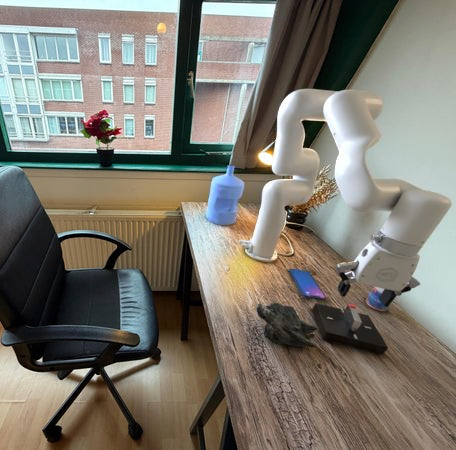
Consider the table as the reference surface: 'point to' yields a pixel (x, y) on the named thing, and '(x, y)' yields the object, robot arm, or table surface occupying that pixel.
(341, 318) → the plate
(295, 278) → the smartphone
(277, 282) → the table surface
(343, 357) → the table surface
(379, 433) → the table surface
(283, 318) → the mineral specimen
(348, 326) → the tap handle
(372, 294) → the pill bottle
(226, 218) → the water jug
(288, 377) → the table surface
